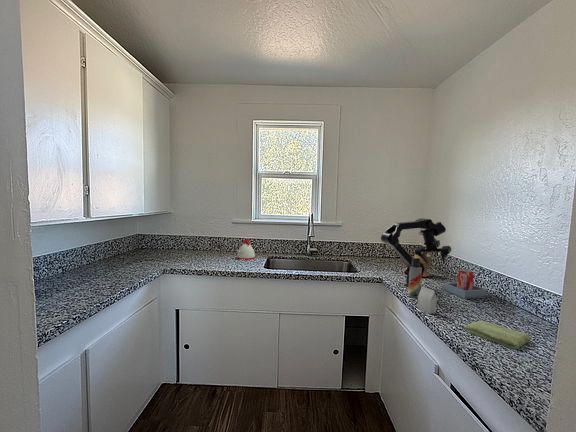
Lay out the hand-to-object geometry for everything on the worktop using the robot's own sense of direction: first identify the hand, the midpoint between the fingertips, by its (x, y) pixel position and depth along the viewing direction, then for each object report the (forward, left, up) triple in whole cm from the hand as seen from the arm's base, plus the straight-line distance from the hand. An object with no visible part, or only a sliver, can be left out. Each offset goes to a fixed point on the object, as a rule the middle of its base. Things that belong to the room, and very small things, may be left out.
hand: (435, 263), depth 171 cm
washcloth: (-25, -59, -13) cm, 65 cm away
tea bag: (-33, -32, -13) cm, 48 cm away
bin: (+4, -17, -13) cm, 21 cm away
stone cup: (+6, +21, -13) cm, 26 cm away
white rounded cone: (-100, +88, -13) cm, 134 cm away
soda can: (+4, -17, -12) cm, 21 cm away
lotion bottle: (-26, -15, -13) cm, 32 cm away
